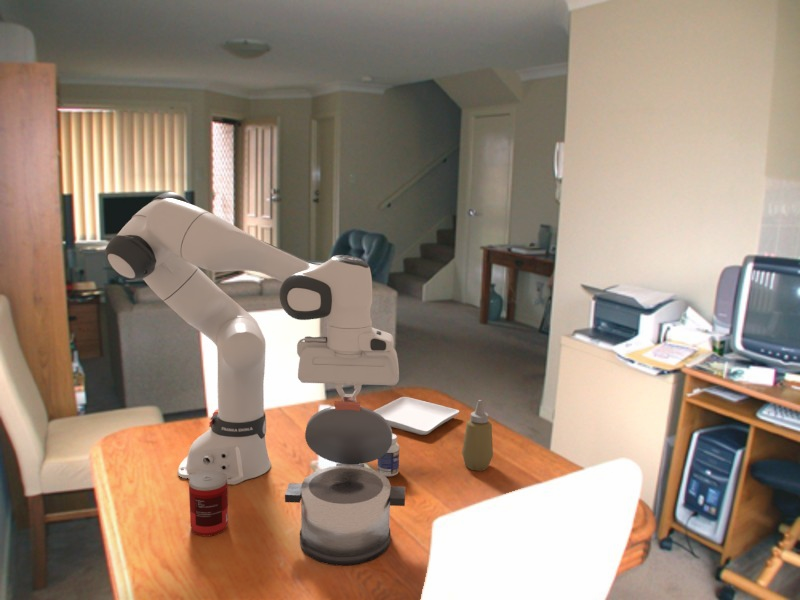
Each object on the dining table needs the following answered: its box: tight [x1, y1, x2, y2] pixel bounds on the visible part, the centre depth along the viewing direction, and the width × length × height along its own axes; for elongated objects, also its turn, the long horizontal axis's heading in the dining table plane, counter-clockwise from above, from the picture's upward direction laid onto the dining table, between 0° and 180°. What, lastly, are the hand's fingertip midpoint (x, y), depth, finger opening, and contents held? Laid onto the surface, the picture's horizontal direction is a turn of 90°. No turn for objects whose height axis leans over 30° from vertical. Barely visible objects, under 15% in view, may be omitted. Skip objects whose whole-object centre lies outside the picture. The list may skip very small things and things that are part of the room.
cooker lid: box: [304, 400, 393, 464], centre depth 135 cm, size 18×20×2 cm
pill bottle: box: [377, 433, 400, 477], centre depth 164 cm, size 5×5×10 cm
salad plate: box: [373, 396, 460, 436], centre depth 199 cm, size 21×21×3 cm
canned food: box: [188, 471, 229, 537], centre depth 137 cm, size 8×8×11 cm
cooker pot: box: [284, 463, 406, 567], centre depth 134 cm, size 24×20×12 cm
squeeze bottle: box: [461, 399, 494, 472], centre depth 168 cm, size 8×8×18 cm
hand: (348, 403), depth 132 cm, fingers closed
